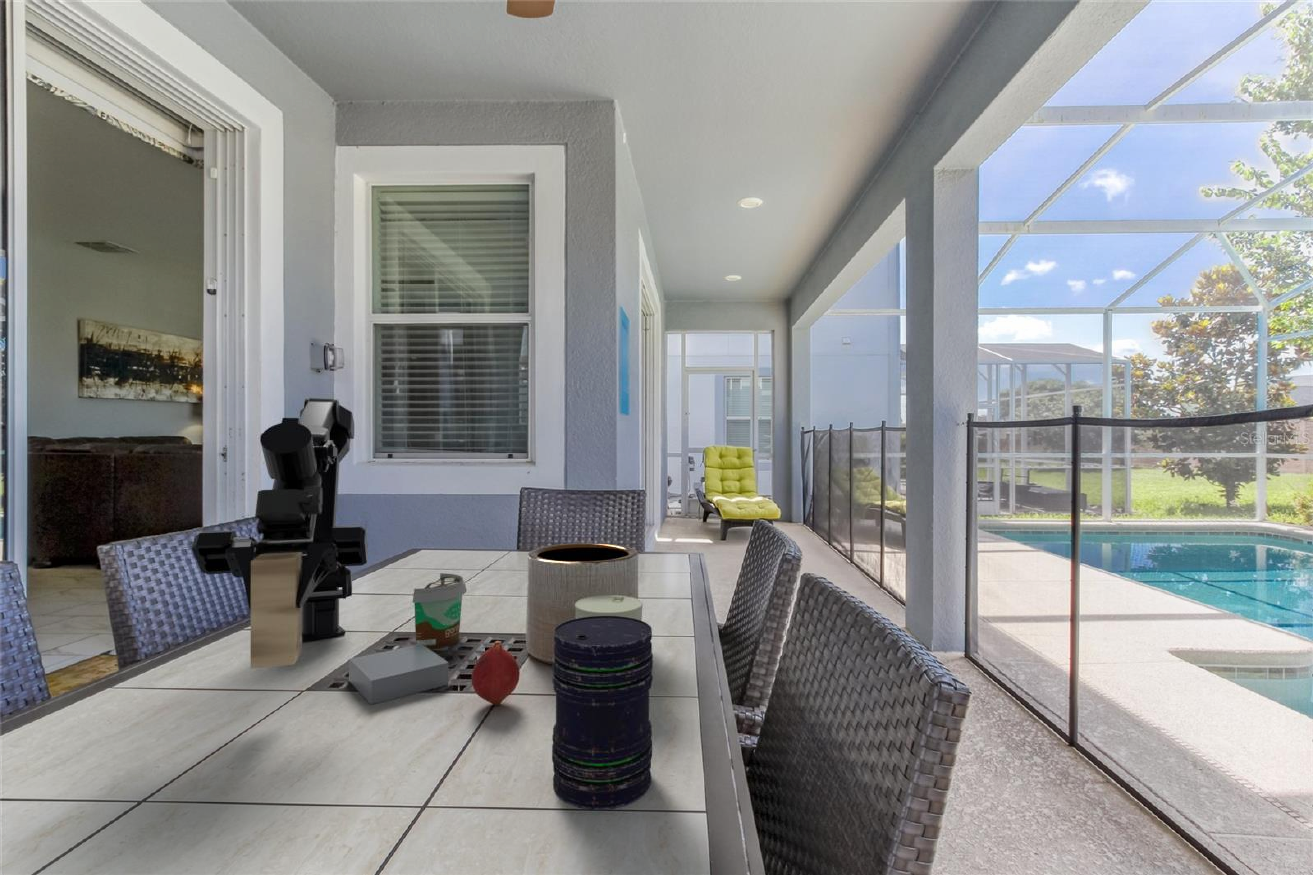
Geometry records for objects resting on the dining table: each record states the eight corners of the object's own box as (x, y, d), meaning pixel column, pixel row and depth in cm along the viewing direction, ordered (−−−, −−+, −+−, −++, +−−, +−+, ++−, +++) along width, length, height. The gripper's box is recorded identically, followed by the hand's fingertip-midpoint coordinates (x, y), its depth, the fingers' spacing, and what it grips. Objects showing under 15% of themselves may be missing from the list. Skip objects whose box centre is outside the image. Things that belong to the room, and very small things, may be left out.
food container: (451, 654, 98) (451, 590, 98) (412, 653, 98) (412, 589, 98) (475, 630, 110) (476, 572, 110) (441, 629, 110) (441, 572, 110)
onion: (476, 718, 75) (477, 651, 75) (467, 700, 81) (467, 638, 81) (524, 709, 78) (524, 644, 78) (512, 692, 83) (512, 631, 83)
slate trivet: (348, 680, 87) (349, 659, 87) (421, 664, 93) (421, 643, 93) (371, 704, 79) (371, 680, 79) (448, 684, 86) (448, 662, 86)
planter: (621, 629, 111) (622, 540, 111) (653, 663, 94) (653, 559, 94) (520, 638, 106) (520, 545, 106) (533, 676, 89) (534, 566, 89)
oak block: (260, 655, 77) (260, 554, 77) (301, 651, 79) (302, 552, 79) (250, 668, 73) (250, 561, 73) (294, 664, 74) (295, 559, 74)
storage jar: (602, 746, 69) (603, 610, 69) (672, 777, 63) (673, 627, 63) (530, 784, 61) (531, 631, 61) (602, 824, 55) (603, 653, 55)
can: (651, 680, 88) (652, 594, 88) (627, 707, 79) (628, 612, 79) (591, 672, 91) (592, 589, 91) (561, 697, 82) (562, 605, 82)
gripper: (197, 465, 76) (160, 576, 66) (366, 464, 82) (357, 565, 72) (217, 521, 84) (187, 628, 73) (370, 516, 90) (363, 614, 80)
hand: (275, 608), depth 74 cm, fingers closed on oak block, 4 cm apart
